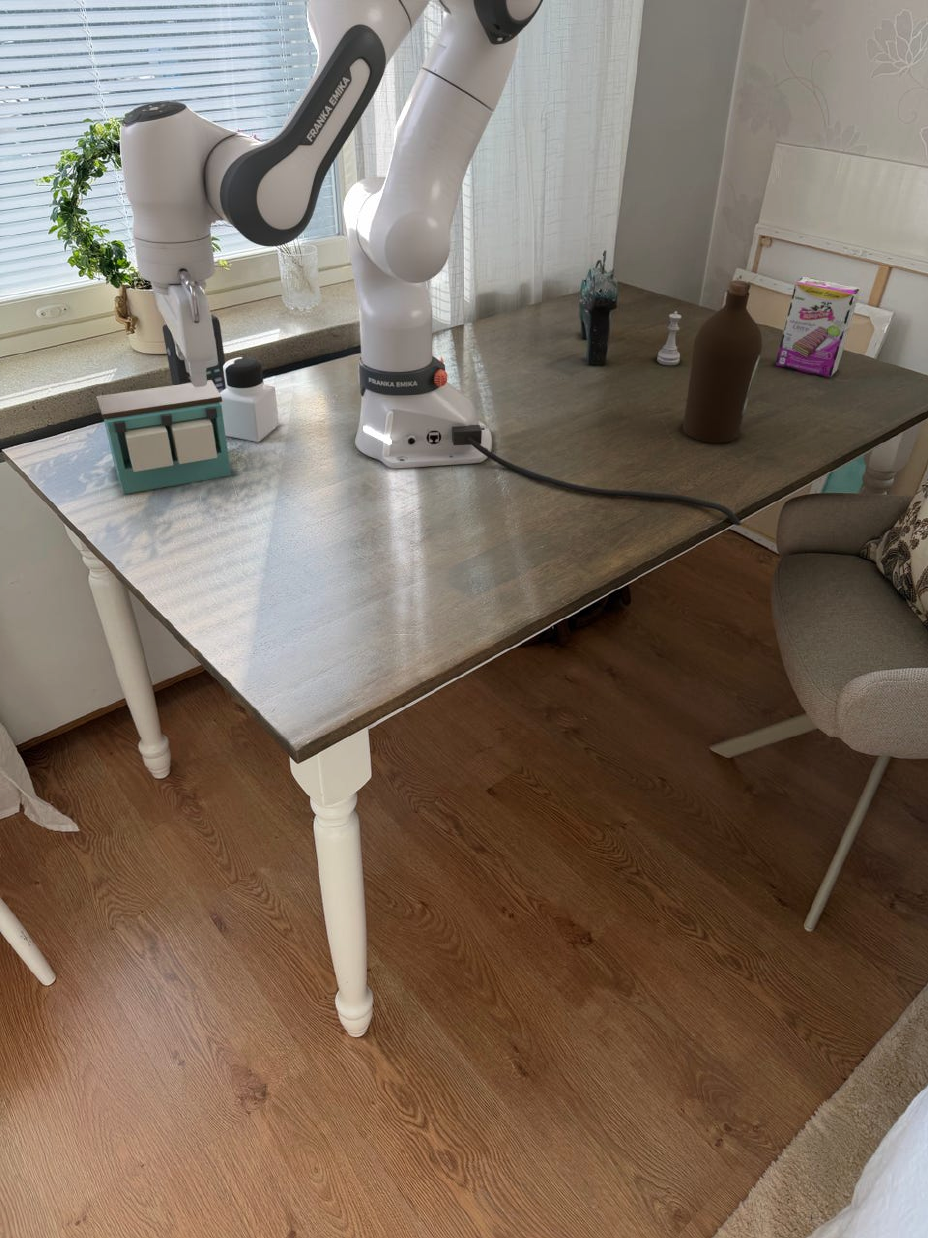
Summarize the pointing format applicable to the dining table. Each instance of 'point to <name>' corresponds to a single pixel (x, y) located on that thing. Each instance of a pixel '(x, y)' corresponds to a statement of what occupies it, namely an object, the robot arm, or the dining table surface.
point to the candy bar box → (817, 326)
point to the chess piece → (670, 343)
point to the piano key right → (193, 440)
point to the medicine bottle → (247, 401)
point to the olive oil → (723, 370)
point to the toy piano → (165, 410)
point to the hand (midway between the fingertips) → (191, 370)
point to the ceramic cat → (597, 311)
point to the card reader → (181, 367)
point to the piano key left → (148, 447)
